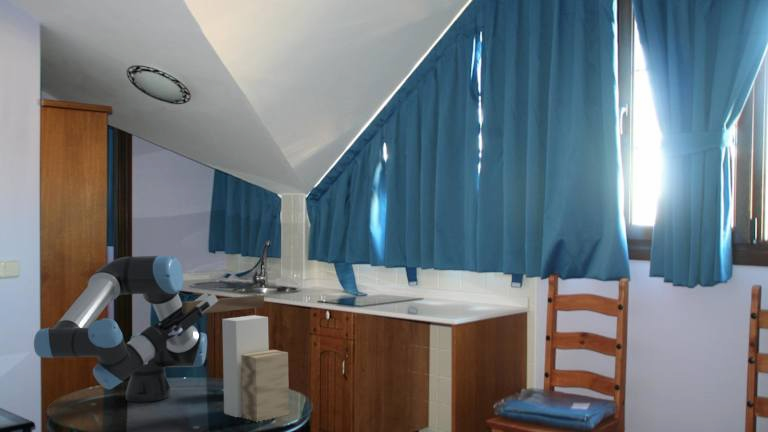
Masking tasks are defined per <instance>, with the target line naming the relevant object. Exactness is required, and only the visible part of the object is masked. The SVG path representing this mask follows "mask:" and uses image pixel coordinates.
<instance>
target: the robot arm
mask: <svg viewBox="0 0 768 432" xmlns="http://www.w3.org/2000/svg"><path fill="white" fill-rule="evenodd" d="M183 285H184V274H183V268H182V265H181V263H180V261H179V260H178V259H177V258H176V257H174V256H170V255H164V254H161V255H146V256H144V255H143V256H142V255H140V256H139V255H138V256H124V257H119V258H116V259H114V260H112V261H110V262H108V263H106V264H105V265H103V266H102V267H100V268H99V269H98V270H96V272H94V273H93V274H92V276H91V277H90V278H89V279H88V283H87V287H86V288H85V289H84V291H83V292H82V293H81V294H80V295H79V296H78V298H77V299H76V300H75V301H74V303H73V304H72V305H71V306H70V307H69V309H68V310H66V312H65V313H64V315H63V316H62V317H61V318H60V319H59V320H58V321H57V323H56V324H55V325H54V326H53V327H52V328H51V327H47V328H42V329H39V330H38V331H36V333H35V336H34V339H33V348H34V352H35V355H37V356H38V357H39V358H47V359H49V358H51V359H56V358H57V359H58V358H61V359H62V358H88V357H89V358H97V360H98V362H99V363H96V365H95V366H94V367H93V369H92V374H93V377H94V378H95V379H96V381H97V382H98V384H99V385H100V386H101V387H103V389H104V388H105V389H106V390H112V389H114V388H115V387H117V386H118V385H120V384H121V383H123V382H124V381H125V380H126V379H127V378H129V377H130V378H129V382H128V384H127V388H126V390H125V400H126V401H128V402H132V403H148V402H155V401H156V402H157V401H161V400H166V399H167V398H169V397H171V393H172V389H171V386H170V384H169V383H170V382H169V381H168V379H167V375H166V368H194V367H201V366H203V365H204V363H205V360H206V358H207V348H208V336H207V334H206V333H205V332H199V331H198V329H197V328H196V327H195V326H194V325H195V324H196V323H197V322H199V320H201V319H202V318H203V317H204V316H205V315H204V313H203V312H204V311H206V310H207V309H208V308H210V307H211V306H212V305H214V304H215V303H216V302H218V299H219V298H217V296H216V294H215V292H212V293H211V294H208V293H207V292H204V293H203V294H201V295H200V296H198V298H196V299H195V300H194V301H200V300H203V301H202V302H200V303H199V304H198V305H196V308H194V309H193V310H191V311H190V312H188V313H187V314H185V315H184V314H182V302H183V301H182V300H181V298H180V295H179V293H180V291H181V290H182V287H183ZM121 295H142V296H143V299H144V300H145V301H146V302H147V303H149V304H151V305H152V306H153V309H154V311H155V313H156V316H157V318H158V320H159V321H158V322H156V323H155V324H153V326H148V327H147V328H146V329H144V330H142V332H137V333H135V334H132V335H131V337H130V340H129V341H127V342H125V338H124V335H123V333H122V331H121V328H120V327H119V325H118V323H117V322H116V321H115V320H114V319H112V318H105V317H104V318H101V319H99V320H97V318H99V316H100V315H101V313H102V312H103V311H104V309H106V307H107V305H108V304H109V303H110V302H112V301H115V300H116V299H117V298H118V297H119V296H121ZM202 313H203V314H202Z"/></svg>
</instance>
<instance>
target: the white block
mask: <svg viewBox="0 0 768 432" xmlns="http://www.w3.org/2000/svg"><path fill="white" fill-rule="evenodd" d="M221 320H222V321H221V322H222V362H223V365H222V372H223V374H222V375H223V413H224V414H225V415H227V416H232V417H235V418H237V417H239V418H243V417H242V366H241V355H243V354H249V353H255V352H262V351H268V350H270V346H269V343H270V342H269V317H268V316H263V315H255V314H253V315H252V314H251V315H246V316H239V317H228V318H222V319H221Z"/></svg>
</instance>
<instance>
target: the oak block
mask: <svg viewBox="0 0 768 432" xmlns="http://www.w3.org/2000/svg"><path fill="white" fill-rule="evenodd" d="M241 366H242V417H241V418H242V419H245V418H246V420H248V419H249V421H251V420H252V421H251V422H255V421H256V422H255V423H259V422H258V421H260V422H264V421H263V420H265V421H268V419H269V420H273V419H276V417H277V418H281V417H284V416H288V415H289V416H290V397H289V396H290V393H289V391H290V389H289V387H290V385H289V383H290V382H289V352H287V351H281V350H278V349H269V350H268V351H262V352H255V353H249V354H243V355H241ZM280 416H281V417H280ZM272 418H273V419H272Z"/></svg>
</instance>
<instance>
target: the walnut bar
mask: <svg viewBox="0 0 768 432" xmlns="http://www.w3.org/2000/svg"><path fill="white" fill-rule="evenodd" d="M217 299H218V302H216V303H215V304H214V305H212V306H211V307H210V308H208V309H207V310H206V311H204V312H203V313H202V314H203V315H204V314H209V313H210V314H212V313H221V312H232V311H237V310H238V311H240V310H249V309H258V308H264V307H265V295H260V294H256V295H255V294H253V295H246V296H245V295H244V296H243V295H242V296H234V297H232V296H231V297H224V298H223V297H222V298H217ZM202 301H203V300H200V301H195V300H191V301H190V300H189V301H181V302H182V314H184V315H185V314H187V313H188V312H190V311H191V310H193V309H194V308H196V305H198V304H199V303H200V302H202Z"/></svg>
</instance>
